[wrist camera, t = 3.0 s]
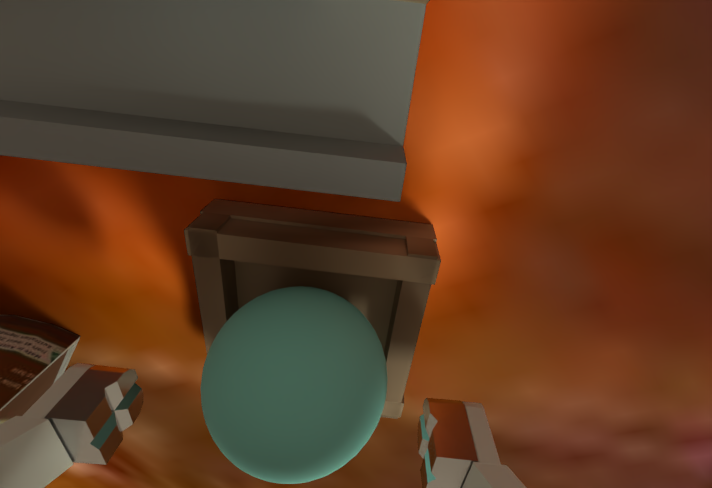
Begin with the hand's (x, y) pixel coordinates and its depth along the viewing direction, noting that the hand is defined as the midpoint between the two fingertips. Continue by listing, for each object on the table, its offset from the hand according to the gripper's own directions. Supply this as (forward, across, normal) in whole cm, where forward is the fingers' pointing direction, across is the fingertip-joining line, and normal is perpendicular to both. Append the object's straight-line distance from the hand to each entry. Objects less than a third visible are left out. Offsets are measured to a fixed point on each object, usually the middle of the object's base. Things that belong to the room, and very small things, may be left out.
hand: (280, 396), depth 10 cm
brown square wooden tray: (+4, 0, -1) cm, 4 cm away
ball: (0, 0, -1) cm, 1 cm away
